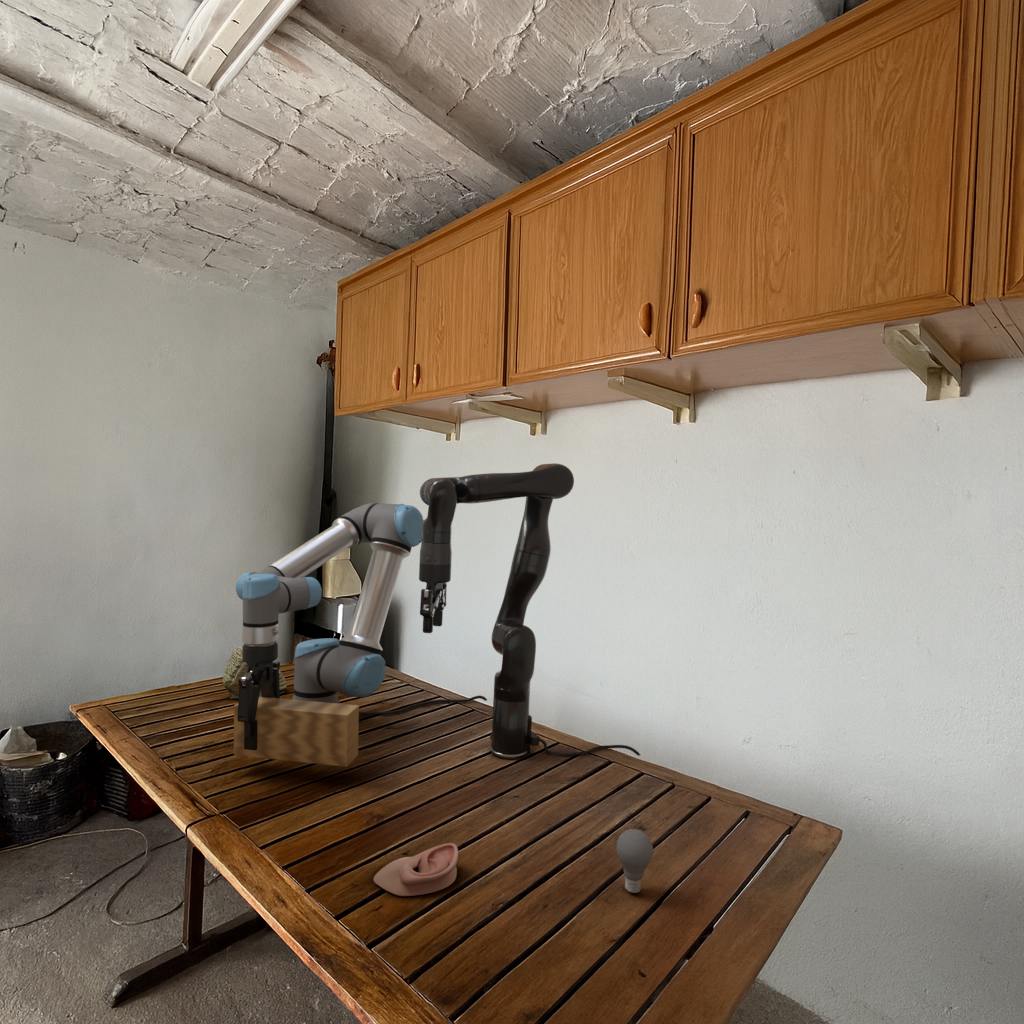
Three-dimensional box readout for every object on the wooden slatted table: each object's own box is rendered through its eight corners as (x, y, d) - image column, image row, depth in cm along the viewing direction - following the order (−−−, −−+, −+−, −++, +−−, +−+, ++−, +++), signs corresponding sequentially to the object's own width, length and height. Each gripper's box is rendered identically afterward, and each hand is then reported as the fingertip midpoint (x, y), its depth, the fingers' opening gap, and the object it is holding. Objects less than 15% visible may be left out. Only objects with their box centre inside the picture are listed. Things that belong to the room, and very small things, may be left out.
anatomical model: (366, 866, 102) (393, 830, 114) (365, 890, 103) (392, 852, 114) (444, 879, 100) (464, 841, 111) (443, 904, 100) (463, 864, 111)
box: (233, 755, 142) (234, 705, 142) (249, 744, 148) (249, 695, 148) (346, 766, 138) (347, 715, 138) (358, 754, 144) (359, 705, 144)
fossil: (218, 695, 195) (220, 647, 195) (278, 685, 208) (279, 640, 207) (228, 703, 189) (230, 653, 188) (289, 692, 201) (290, 645, 201)
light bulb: (610, 879, 108) (613, 822, 108) (644, 879, 109) (647, 822, 109) (619, 902, 102) (622, 840, 102) (655, 901, 103) (658, 840, 103)
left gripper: (252, 655, 133) (250, 762, 134) (296, 634, 152) (295, 728, 153) (219, 652, 134) (218, 759, 136) (267, 632, 154) (266, 725, 155)
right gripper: (443, 565, 143) (440, 636, 143) (457, 559, 157) (455, 624, 158) (411, 563, 144) (408, 634, 145) (428, 558, 158) (426, 622, 159)
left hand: (259, 742), depth 144 cm, fingers closed on box, 6 cm apart
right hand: (432, 629), depth 151 cm, fingers open, 8 cm apart
